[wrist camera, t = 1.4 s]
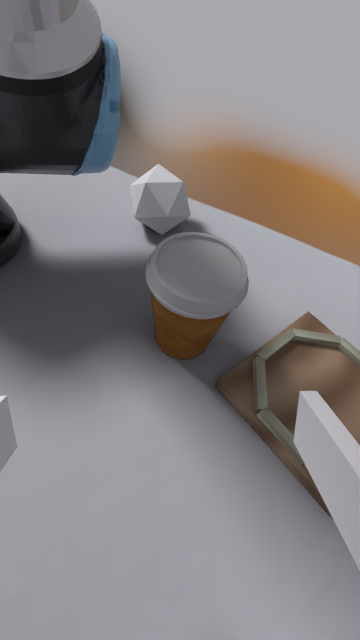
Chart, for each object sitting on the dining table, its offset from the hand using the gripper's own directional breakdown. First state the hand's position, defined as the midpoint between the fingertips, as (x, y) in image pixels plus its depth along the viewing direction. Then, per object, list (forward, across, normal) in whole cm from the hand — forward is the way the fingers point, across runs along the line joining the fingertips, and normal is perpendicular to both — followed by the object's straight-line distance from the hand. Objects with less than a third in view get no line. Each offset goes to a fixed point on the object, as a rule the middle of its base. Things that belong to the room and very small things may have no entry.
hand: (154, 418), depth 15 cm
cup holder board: (+18, +16, -11) cm, 27 cm away
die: (+39, -2, +7) cm, 40 cm away
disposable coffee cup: (+23, +2, -5) cm, 24 cm away
